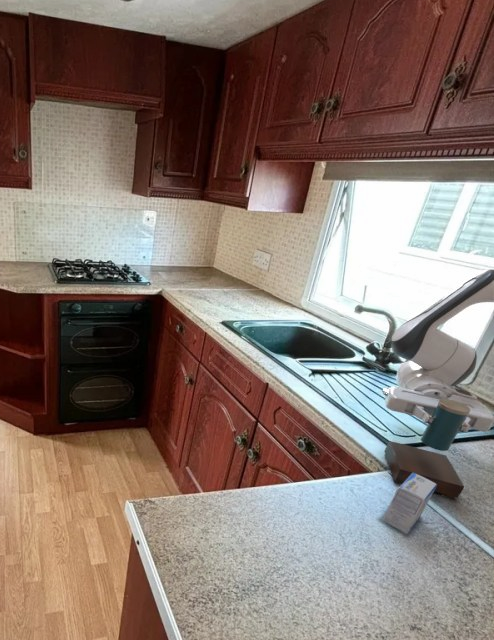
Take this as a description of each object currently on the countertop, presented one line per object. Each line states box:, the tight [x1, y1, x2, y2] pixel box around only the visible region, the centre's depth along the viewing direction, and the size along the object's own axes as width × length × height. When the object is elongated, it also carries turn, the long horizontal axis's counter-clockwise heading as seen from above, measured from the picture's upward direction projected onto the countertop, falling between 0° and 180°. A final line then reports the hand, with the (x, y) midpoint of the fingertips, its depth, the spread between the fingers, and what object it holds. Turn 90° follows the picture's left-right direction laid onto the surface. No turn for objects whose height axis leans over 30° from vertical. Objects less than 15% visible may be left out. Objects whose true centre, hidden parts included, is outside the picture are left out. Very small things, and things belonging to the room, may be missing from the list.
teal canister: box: [420, 399, 470, 452], centre depth 87 cm, size 5×5×10 cm
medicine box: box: [382, 473, 437, 535], centre depth 78 cm, size 8×4×9 cm, turn 129°
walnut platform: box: [384, 440, 465, 500], centre depth 93 cm, size 12×12×4 cm
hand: (446, 425), depth 86 cm, fingers closed on teal canister, 5 cm apart
